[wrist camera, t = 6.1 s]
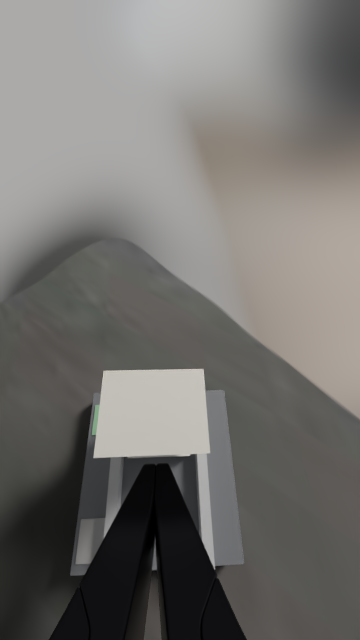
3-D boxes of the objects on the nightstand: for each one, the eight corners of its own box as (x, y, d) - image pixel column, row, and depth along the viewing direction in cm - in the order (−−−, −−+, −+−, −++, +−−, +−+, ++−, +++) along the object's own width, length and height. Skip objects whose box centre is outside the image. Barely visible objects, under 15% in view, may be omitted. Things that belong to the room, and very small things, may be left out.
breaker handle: (189, 455, 13) (211, 466, 6) (129, 457, 13) (92, 471, 6) (186, 398, 14) (202, 360, 8) (133, 399, 14) (104, 361, 8)
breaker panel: (236, 551, 12) (251, 574, 10) (80, 561, 12) (61, 587, 10) (219, 394, 16) (227, 386, 14) (100, 397, 16) (89, 389, 13)
